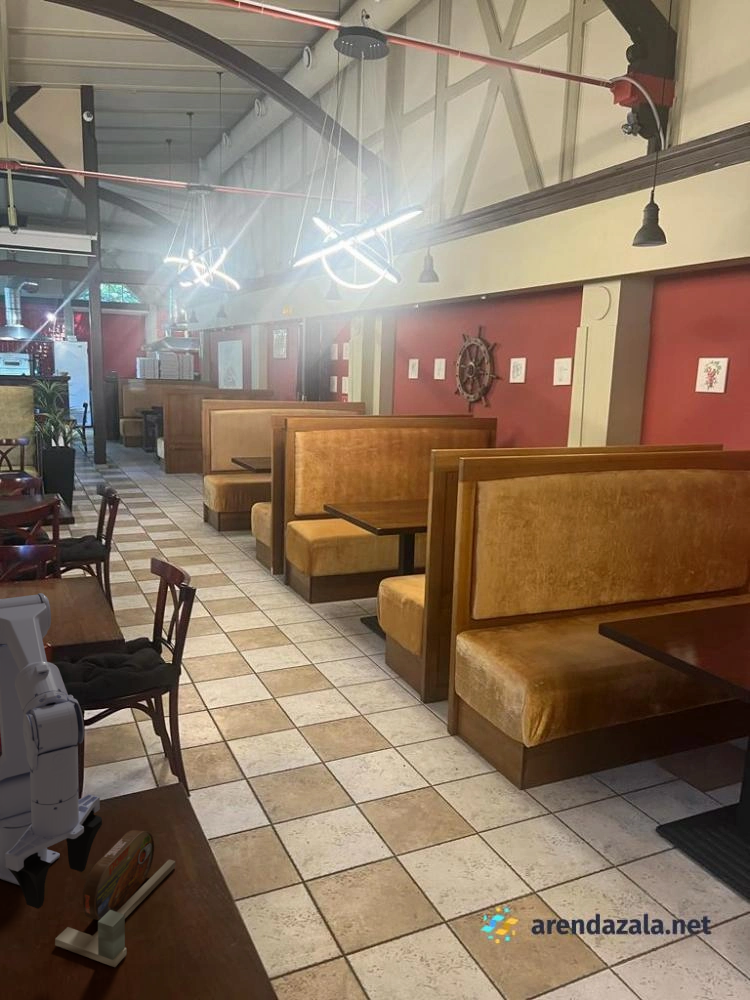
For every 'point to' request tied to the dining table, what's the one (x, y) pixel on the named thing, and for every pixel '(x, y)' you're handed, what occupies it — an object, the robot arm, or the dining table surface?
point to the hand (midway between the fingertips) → (56, 886)
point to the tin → (118, 874)
